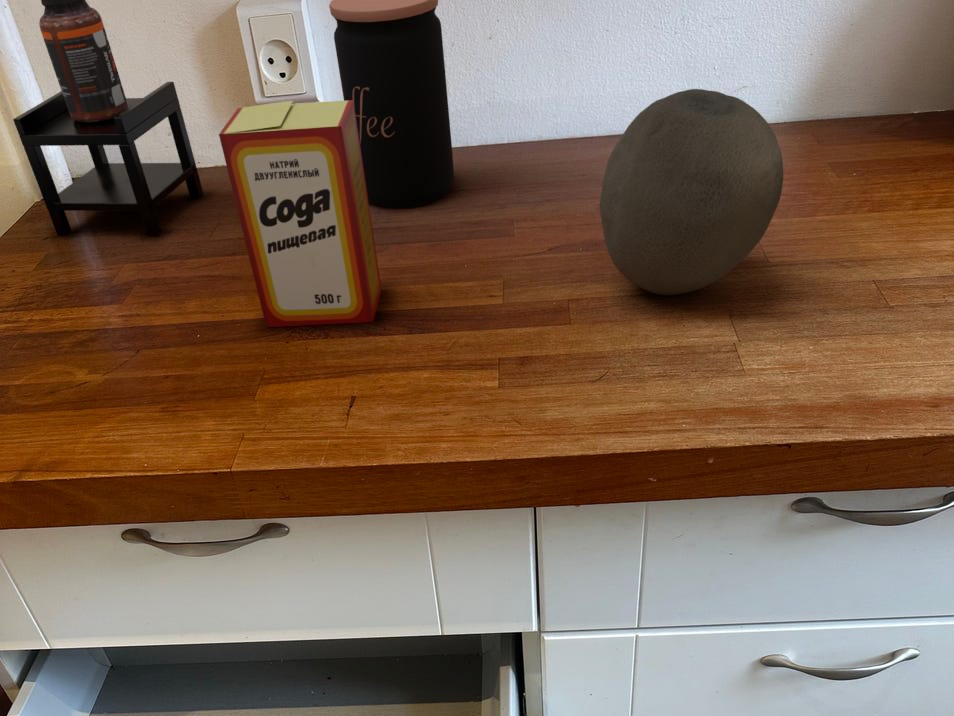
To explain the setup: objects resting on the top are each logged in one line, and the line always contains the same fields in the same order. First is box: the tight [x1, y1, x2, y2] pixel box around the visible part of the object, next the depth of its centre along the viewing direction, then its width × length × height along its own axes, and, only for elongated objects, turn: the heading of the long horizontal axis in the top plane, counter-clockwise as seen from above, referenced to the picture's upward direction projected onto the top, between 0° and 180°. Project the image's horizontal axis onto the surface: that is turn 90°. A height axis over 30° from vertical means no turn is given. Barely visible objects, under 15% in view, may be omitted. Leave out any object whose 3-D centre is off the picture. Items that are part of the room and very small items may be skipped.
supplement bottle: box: [38, 0, 128, 123], centre depth 94 cm, size 6×6×11 cm
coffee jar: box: [328, 0, 455, 208], centre depth 98 cm, size 11×11×18 cm
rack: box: [12, 81, 205, 237], centre depth 101 cm, size 12×12×12 cm
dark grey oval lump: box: [599, 88, 784, 296], centre depth 78 cm, size 14×14×15 cm
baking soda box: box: [218, 99, 383, 328], centre depth 79 cm, size 10×6×16 cm
